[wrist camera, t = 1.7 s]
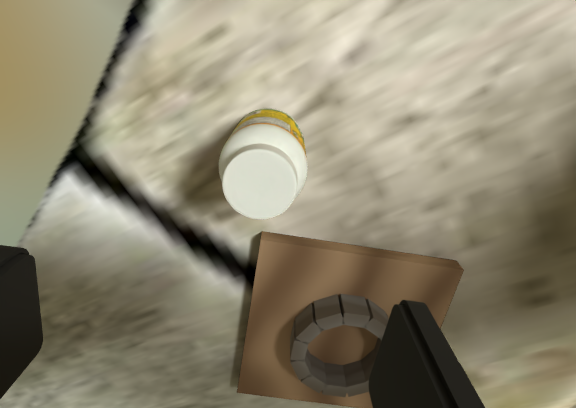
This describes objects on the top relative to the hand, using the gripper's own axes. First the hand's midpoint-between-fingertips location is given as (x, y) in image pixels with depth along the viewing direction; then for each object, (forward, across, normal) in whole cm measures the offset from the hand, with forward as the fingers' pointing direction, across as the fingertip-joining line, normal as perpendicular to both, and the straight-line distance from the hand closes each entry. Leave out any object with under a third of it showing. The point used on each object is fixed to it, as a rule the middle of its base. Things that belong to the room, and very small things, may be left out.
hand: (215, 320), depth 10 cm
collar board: (+20, -10, +16) cm, 27 cm away
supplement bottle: (+20, -1, 0) cm, 20 cm away
